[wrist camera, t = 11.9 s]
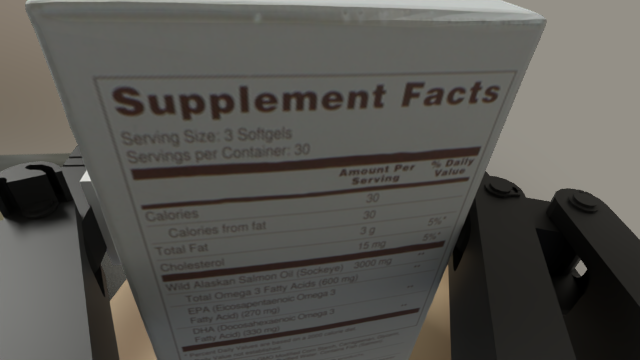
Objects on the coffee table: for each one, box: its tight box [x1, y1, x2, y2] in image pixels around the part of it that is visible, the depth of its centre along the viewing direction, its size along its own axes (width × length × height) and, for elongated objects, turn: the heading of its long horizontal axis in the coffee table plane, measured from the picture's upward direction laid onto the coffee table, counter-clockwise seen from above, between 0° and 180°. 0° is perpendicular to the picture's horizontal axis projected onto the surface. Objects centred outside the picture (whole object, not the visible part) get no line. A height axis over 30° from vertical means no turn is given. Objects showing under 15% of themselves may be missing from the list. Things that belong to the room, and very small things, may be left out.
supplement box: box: [25, 0, 546, 360], centre depth 11 cm, size 7×7×13 cm
